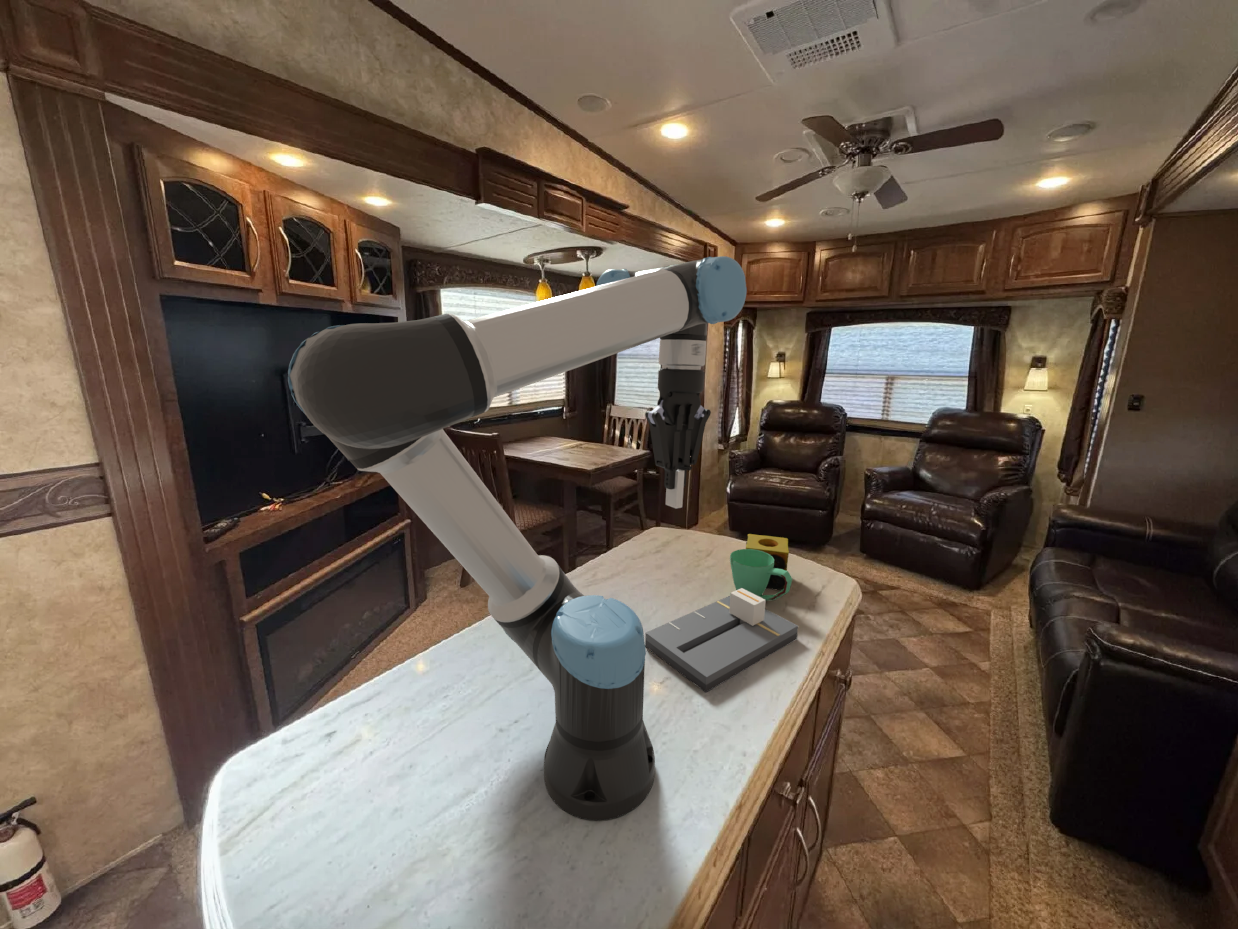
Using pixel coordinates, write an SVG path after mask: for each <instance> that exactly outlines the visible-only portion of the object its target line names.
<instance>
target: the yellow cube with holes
mask: <svg viewBox="0 0 1238 929" xmlns="http://www.w3.org/2000/svg"><path fill="white" fill-rule="evenodd" d="M745 549H753V550H759V551H763V552H765V553H768V554H769V555H771V556H772V557H773V558H774V567H773V568H777V569H783V570H785V571H788V563H789V562H788V561H789V552H790V551H789V550H790V549H789V539H788V538H787V537H781V536H780V537H779V536H771V535H759V534H752V533H748V534H747V541H746V542H745ZM784 587H785V580H784V578H783V577H781V576H778V575H770V578H769V582H768V584H767V587H766V589H768V590H769V589H770V590H775V589H777V591H781V590H783V589H784ZM766 589H765V590H766Z"/></svg>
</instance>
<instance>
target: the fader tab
mask: <svg viewBox="0 0 1238 929" xmlns="http://www.w3.org/2000/svg"><path fill="white" fill-rule="evenodd" d="M729 596H730V608H729V613H731V614H732V615H734V616H736V617H738V618H740V624H743V623H745V622H747V623H749V624H750V625H752V626H753V625H755V624H757V623H759V622H761V621H763V620H764V613H765V609H766V602H767V601H766V600H765V599H763V598H761V597H759V596H757V595H755V594H753V593H751V592H749V591H747V590H745V589H743V588H741V589H738V590H736V589H735V590H734V591H731V592H730V594H729Z"/></svg>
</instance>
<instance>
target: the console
mask: <svg viewBox="0 0 1238 929" xmlns="http://www.w3.org/2000/svg"><path fill="white" fill-rule="evenodd" d="M729 608H730V595H728V596H726V597H723V598H722V599H719V600H716V601H714V602H712V603H710V604H707V605H705V606H704V607H701V608H699V609H696V610H694V611H692V612H689V613H687V614H685V615H682V616H680V617H678V618H675V619H674V620H671V621H669V622H666V623H664V624H662V625H660V626H658V627H655V628H653V629H650V630H649V631H646V632H644V633H645V634H644V642H645V648H647V649H648V650H649V651H651V652H652V653H653V654H655V655H656V656H657V657H659V658H660V659H661V660H663V661H664V662H666V663H667V664H668V665H669V666H670V667H672V668H673V669H674V670H675V671H677V672H678V673H679V674H681V675H682V676H683V677H685V678H686V679H688V681H689V682H691V683H693V684H694V685H695V686H696V687H697V688H700V689H701V690H702V691H703V692H704V693H707V692H709V691H711V690H712V689H714V688H716V687H718V686H719V685H721V684H723V683H724V682H727V681H728V680H730V679H731V678H733V677H735V676H737V675H738V674H741V673H742V672H744V671H745V670H747V669H748V668H750V667H752V666H753V665H755V664H757V663H759V662H761V661H762V660H764V659H766V658H767V657H769V656H771V655H772V654H774V653H776V652H778V651H779V650H781V649H782V648H785V646H788V645H790V644H791V643H793V642H794V641H797V639H798V631H799V625H797V624H795V623H794V622H792V621H790V620H787V619H786V618H784V617H782V616H780V615H778V614H776V613H774V612H773V611H770V610H768V609H766V608H765V613H764V620H763V621H761V622H759V623H757V624H755V625H753V626H752V625H750V624H749V623H747V622H745V623H743V624H740V618H738V617H736V616H734V615H732V614H731V613H729Z"/></svg>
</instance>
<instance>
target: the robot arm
mask: <svg viewBox="0 0 1238 929" xmlns="http://www.w3.org/2000/svg"><path fill="white" fill-rule="evenodd" d="M746 278H747V277H746V275H745V272H744V269H743V268H742V266H741V265H740V264H739V262H738V261H736V259H734V258H732V257H729V256H725V255H724V256H723V255H722V256H714V257H712V256H708V257H704V258H702V259H697V260H691V261H687V262H683V263H678V264H671V265H666V266H660V267H656V268H649V269H644V270H639V271H638V270H637V271H633V270H632V271H631V270H628V269H627V268H623V269H617V268H616V269H615V268H611V269H607V270H605V271H604V272H603V273H602V274H601V275H600V277H599V278H598V279H597V281H596V285H595V286H592V287H589V288H586V289H581V290H578V291H573V292H571V293H566V294H563V295H558V296H555V297H554V296H553V297H551V298H548V299H547V298H546V299H544V300H540V301H539V300H538V301H536V302H532V303H529V304H528V303H527V304H525V305H520V306H517V307H514V308H508V309H504V310H502V311H497V312H494V313H490V314H486V315H482V316H478V317H476V318H470V319H467V320H463V319H462V318H461V317H458V316H457V315H456V314H453V313H451V312H448V313H447V312H446V313H443V314H440V315H436V316H430V317H426V318H422V319H417V320H406V321H398V322H379V323H377V322H376V323H368V322H367V323H366V322H365V323H350V324H346V325H345V324H341V325H340V324H339V325H333V326H328V327H326V328H324V329H321V330H320V331H316V332H314V333H313V334H312V335H311V336H309V337H307V338H306V339H305V340H302V342H301V343H300V345H299V346H298V347H297V348H296V349H295V350H294V353H293V354H292V357H291V360H290V362H289V365H288V370H287V374H288V375H287V382H288V388H289V390H290V393H291V396H292V398H293V401H294V403H296V406H297V407H298V408H299V409H300V410H301V412H303V414H304V415H305V416H306V417H307V419H309V421H310V422H311V424H313V426H314V427H315V428H316V429H317V430H319V431H320V432H321V433H322V434H323V435H325V436H326V437H327V438H328V439H329V440H330V441H331V442H332V443H333V445H334V446H335V447H336V448H337V449H338V450H339V451H340V452H341V453H342V454H343V456H344V457H345V458H346V459H347V460H348V461H349V462H350V463H351V464H352V465H353V466H354V467H355V469H357V471H360V472H369V473H370V472H371V473H378V474H380V475H381V476H382V477H383V478H384V479H385V481H387V483H388V484H389V485H390V486H391V487H392V488H393V490H394V491H395V492H396V493H397V494H398V495H399V496H400V497H401V499H403V501H404V502H405V503H406V504H407V505H408V506H409V507H410V509H411V510H412V511H413V512H414V514H416V515H417V516H418V518H419V519H420V520H421V521H422V522H423V523H424V524H425V525H426V527H427V528H428V529H429V530H430V531H431V532H432V533H433V535H434V536H435V537H436V538H437V539H438V540H439V542H440V543H441V544H442V545H443V546H444V547H445V548H446V549H447V550H448V552H450V554H451V555H452V556H453V557H454V558H455V560H457V561H458V563H459V565H461V566H462V567H463V568H464V569H465V570H466V572H467V573H468V574H469V575H470V576H471V577H472V578H473V579H474V581H475V582H476V583H477V584H478V585H479V586H480V588H481V589H482V590H483V591H484V592H485V593H486V594H487V595H488V601H487V610H488V613H489V614H490V616H491V617H492V618H493V619H494V620H495V622H496V623H497V624H498V625H499V626H500V627H501V629H503V631H504V632H505V634H506V635H507V636H508V637H509V639H511V640H512V641H513V642H514V643H515V644H516V645H517V646H518V647H519V648H520V650H522V652H523V653H524V654H525V655H526V656H527V658H529V660H530V661H531V662H532V663H533V664H534V665H535V666H536V667H537V669H538V670H539V671H540V673H542V675H543V676H544V677H545V679H546V680H547V681H548V682H549V683H550V684H551V685H552V686H551V687H552V689H553V692H554V711H555V712H554V713H555V724H554V725H553V730H552V731H551V732H552V733H551V736H550V738H549V741H548V744H547V746H546V749H545V752H544V757H543V758H544V759H543V778H544V785H545V788H546V791H547V793H548V795H549V796H550V798H551V800H552V801H553V802H554V803H555V804H556V805H557V806H558V807H559V808H560V809H561V810H563V811H564V812H566V813H568V814H569V815H571V816H573V817H577V818H580V819H584V820H589V821H605V820H611V819H616V818H619V817H622V816H624V815H626V814H628V813H629V812H632V811H634V810H635V809H636V808H637V807H638V806H640V805H641V803H642V802H643V801H644V800H645V799H646V798H647V796H648V795H649V793H651V792H650V791H651V789H652V787H653V785H654V784H653V783H654V780H655V774H656V773H655V769H656V764H655V763H656V756H655V751H654V747H653V744H652V741H651V739H650V736H649V733H648V730H647V728H646V724H645V722H644V715H643V714H644V691H645V688H644V687H645V669H646V668H645V667H646V666H645V665H646V664H645V663H646V655H647V650H646V648H647V647H645V634H644V633H645V632H644V627H643V624H642V622H641V620H640V617H639V616H638V615H637V613H636V612H635V611H634V610H633V609H632V608H631V606H629V605H628V604H625V603H624V602H622V601H620V600H618V599H616V598H613V597H609V598H605V597H604V596H603V595H599V594H598V595H597V594H593V595H592V594H591V595H584V594H583V593H582V592H580V591H579V590H578V588H577V587H576V586H575V585H574V584H573V583H572V581H571V580H570V579H569V577H568V576H567V575H566V573H565V572H564V571H563V569H562V568H561V566H560V565H559V563H557V561H556V559H554V558H552V557H551V556H549V555H541V554H540V555H538V554H537V552H536V551H535V550H534V548H533V547H532V545H530V543H529V541H528V540H527V539H526V537H524V535H523V534H522V532H521V531H520V529H519V528H518V527H517V525H516V524H515V523H514V521H512V519H511V518H510V517H509V515H508V514H507V512H506V511H505V510H504V509H503V507H502V505H500V503H499V502H498V501H497V499H496V498H495V497H494V495H493V494H492V493H491V491H490V490H489V488H488V487H487V486H486V485H485V483H484V482H483V481H482V479H481V478H480V477H479V475H478V474H477V472H476V471H475V470H474V468H473V467H472V466H471V465H470V463H469V462H468V461H467V460H466V458H465V457H464V456H463V454H462V452H460V450H459V449H458V448H457V446H456V445H455V443H454V442H453V441H452V439H451V438H450V437H449V436H448V435H447V433H446V432H445V430H444V429H446V428H448V427H451V426H453V425H456V424H459V423H461V422H463V421H465V420H468V419H471V418H474V417H477V416H479V415H482V414H483V413H487V411H489V409H490V406H492V402H493V399H495V398H496V397H500V396H502V395H505V394H508V393H511V392H514V391H516V390H520V389H521V388H522V389H523V388H524V387H527V386H531V385H532V384H535V383H538V382H541V381H543V380H546V379H549V378H552V377H555V376H558V375H560V374H564V373H566V372H568V371H572V370H574V369H577V368H580V367H584V366H586V365H588V364H591V363H594V362H596V361H599V360H603V359H605V358H607V357H610V356H612V355H616V354H619V353H621V352H624V351H627V350H630V349H632V348H635V347H639V346H641V345H644V344H646V343H650V342H652V341H654V340H657V339H659V346H658V348H659V350H658V351H659V352H658V364H659V365H660V366H661V368H659V370H658V371H657V372H658V373H657V390H658V391H659V397H658V399H657V403H656V404H657V406H655V408H653V409H652V410H646V412H645V413H644V417H645V419H646V420H647V423H648V425H649V430H650V437H651V444H652V445H651V446H652V449H653V450H652V451H653V456H654V464H655V466H656V467H660V468H662V469H663V470H664V477H663V478H664V482H663V486H664V489H666V490H665V491H666V492H665V506H668V507H671V508H673V509H675V510H676V509H681V508H683V503H684V502H683V500H684V488H685V487H686V485H687V471H691V470H692V469H693V466H694V465H696V464H697V462H698V458H699V454H700V449H701V446H702V441H703V436H704V432H705V429H706V424H707V422H708V420H709V418H710V416H711V413H712V412H711V409H708V408H705V407H704V406H703V405H701V404H702V400H701V396H700V394H701V393H702V392H703V391H704V387H705V370H704V369H701V368H702V367H704V366H705V365H706V353H707V336H708V324H710V325H715V324H718V323H724V322H729V321H731V320H733V319H735V318H736V317H737V316H738V315H739V313H740V312H741V311H742V310H743V307H744V305H745V303H746V302H745V301H746V299H747V292H748V291H747V289H748V288H747V282H746Z"/></svg>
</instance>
